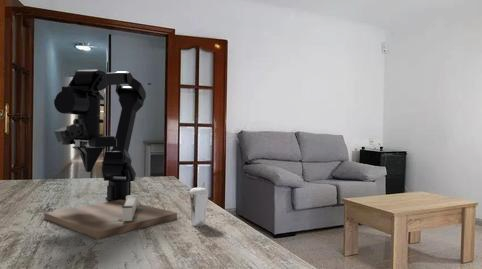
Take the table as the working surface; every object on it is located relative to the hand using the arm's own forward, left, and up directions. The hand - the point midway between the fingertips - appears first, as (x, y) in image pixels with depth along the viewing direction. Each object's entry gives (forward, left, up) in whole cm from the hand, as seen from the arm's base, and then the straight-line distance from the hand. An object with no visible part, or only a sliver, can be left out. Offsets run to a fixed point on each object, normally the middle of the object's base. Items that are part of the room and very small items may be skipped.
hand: (88, 171), depth 95 cm
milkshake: (-11, +32, -11) cm, 36 cm away
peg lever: (-2, +17, -9) cm, 19 cm away
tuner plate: (0, +11, -11) cm, 16 cm away
